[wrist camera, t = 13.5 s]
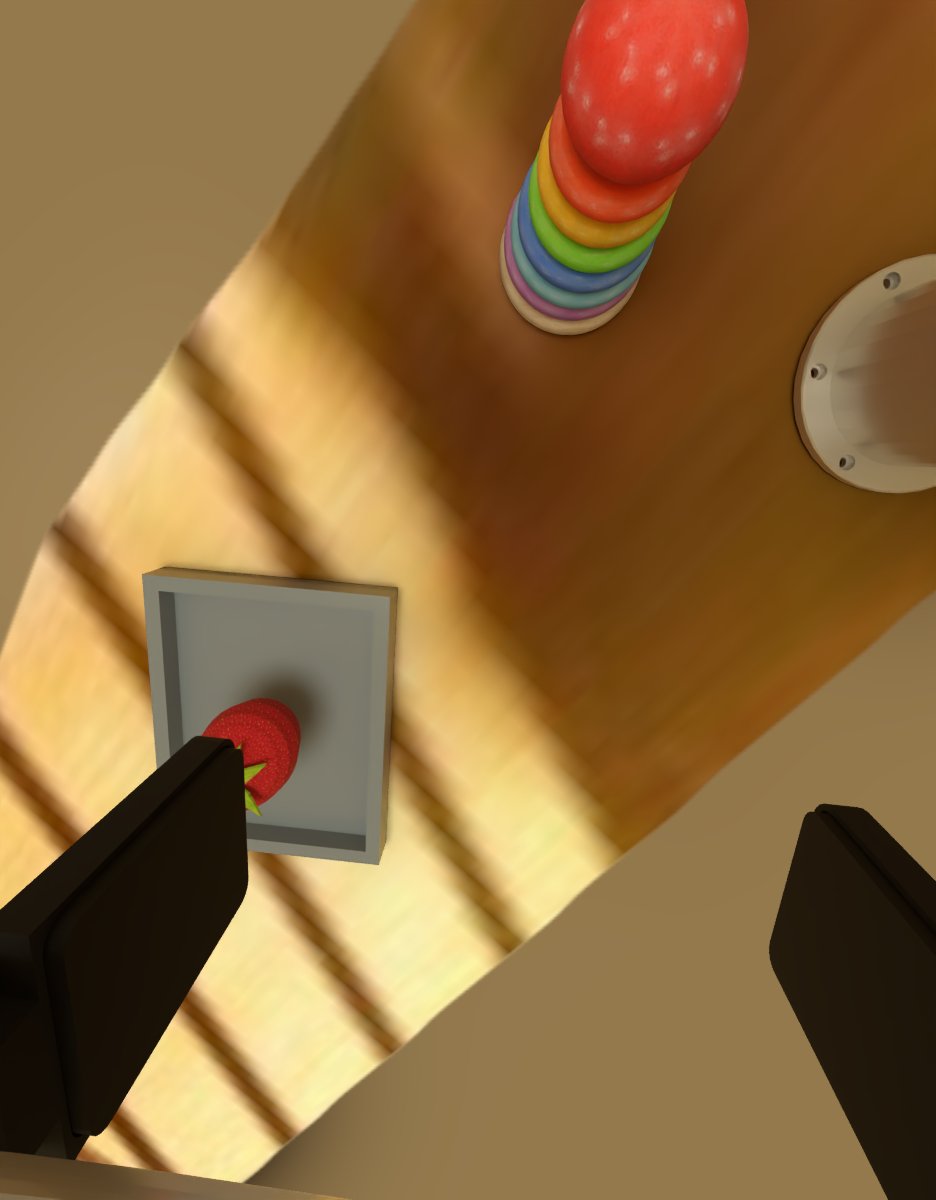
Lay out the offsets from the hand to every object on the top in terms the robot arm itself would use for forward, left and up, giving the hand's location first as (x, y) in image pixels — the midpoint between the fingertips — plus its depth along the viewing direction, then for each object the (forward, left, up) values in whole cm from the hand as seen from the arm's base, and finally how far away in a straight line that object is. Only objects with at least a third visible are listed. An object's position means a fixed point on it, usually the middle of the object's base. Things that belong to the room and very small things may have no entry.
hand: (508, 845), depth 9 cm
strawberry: (+15, +13, -27) cm, 33 cm away
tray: (+15, +13, -28) cm, 34 cm away
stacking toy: (-2, -17, -28) cm, 33 cm away
